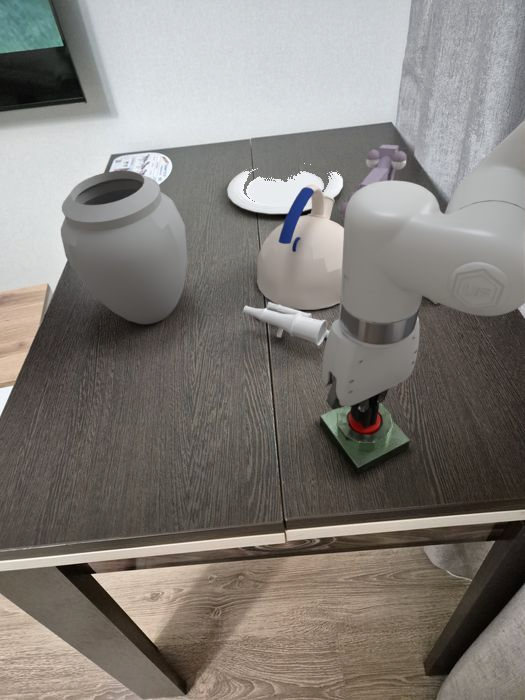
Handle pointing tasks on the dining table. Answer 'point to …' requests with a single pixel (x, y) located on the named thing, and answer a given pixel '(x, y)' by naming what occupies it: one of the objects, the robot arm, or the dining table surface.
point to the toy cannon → (291, 322)
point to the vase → (126, 244)
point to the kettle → (303, 256)
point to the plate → (278, 191)
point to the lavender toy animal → (380, 167)
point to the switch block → (364, 439)
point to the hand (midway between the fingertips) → (363, 418)
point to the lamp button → (360, 429)
